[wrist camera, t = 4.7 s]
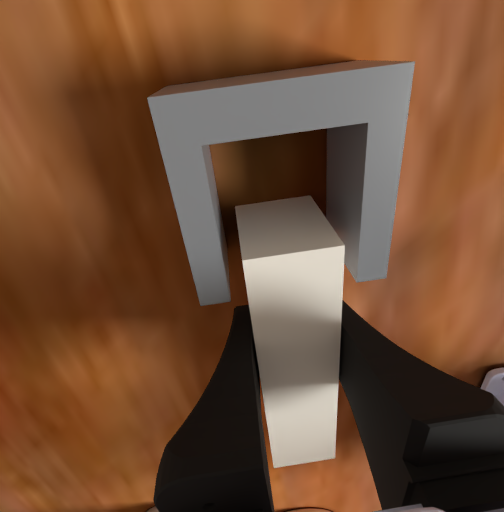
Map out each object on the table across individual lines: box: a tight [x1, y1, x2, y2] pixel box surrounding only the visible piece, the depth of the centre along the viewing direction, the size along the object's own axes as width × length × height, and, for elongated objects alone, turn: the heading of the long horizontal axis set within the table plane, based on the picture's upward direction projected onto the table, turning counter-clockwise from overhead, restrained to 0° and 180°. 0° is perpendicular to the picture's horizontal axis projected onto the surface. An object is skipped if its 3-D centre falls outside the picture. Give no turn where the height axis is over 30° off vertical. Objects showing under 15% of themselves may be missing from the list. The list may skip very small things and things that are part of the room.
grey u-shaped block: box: [147, 60, 415, 306], centre depth 11 cm, size 6×6×4 cm
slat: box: [235, 195, 345, 468], centre depth 14 cm, size 3×12×4 cm, turn 6°
